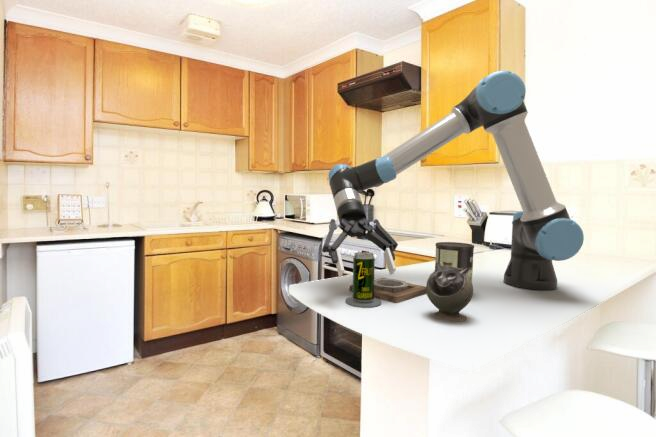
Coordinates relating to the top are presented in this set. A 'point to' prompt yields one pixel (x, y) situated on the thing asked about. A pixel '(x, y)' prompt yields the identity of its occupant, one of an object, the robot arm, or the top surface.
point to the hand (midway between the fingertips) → (367, 272)
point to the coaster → (374, 303)
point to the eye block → (395, 290)
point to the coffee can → (455, 255)
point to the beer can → (363, 277)
